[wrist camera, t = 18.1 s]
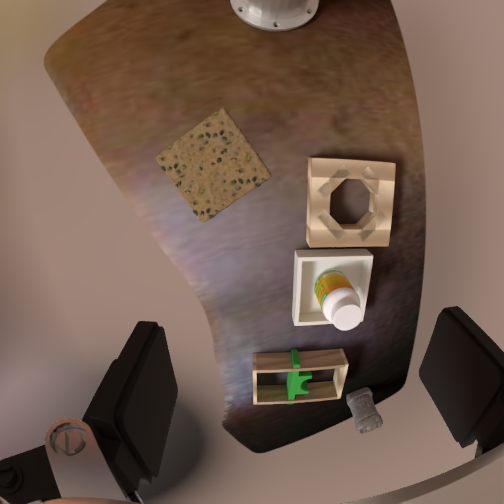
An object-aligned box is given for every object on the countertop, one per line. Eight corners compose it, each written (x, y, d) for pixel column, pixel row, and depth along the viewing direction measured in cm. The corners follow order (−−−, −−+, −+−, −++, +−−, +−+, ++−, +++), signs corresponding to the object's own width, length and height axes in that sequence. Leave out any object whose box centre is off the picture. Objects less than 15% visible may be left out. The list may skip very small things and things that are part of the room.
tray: (295, 249, 43) (298, 257, 40) (365, 248, 43) (373, 255, 40) (292, 315, 47) (294, 325, 44) (357, 311, 47) (362, 321, 44)
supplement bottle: (311, 271, 43) (327, 303, 34) (345, 265, 43) (368, 295, 34) (314, 302, 45) (328, 338, 36) (346, 296, 45) (366, 330, 36)
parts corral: (252, 353, 50) (252, 370, 45) (342, 348, 49) (348, 364, 45) (253, 387, 53) (253, 404, 48) (335, 382, 53) (340, 398, 48)
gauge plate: (307, 157, 38) (312, 158, 36) (386, 162, 38) (395, 163, 35) (306, 240, 42) (309, 247, 40) (380, 239, 42) (388, 246, 40)
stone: (344, 393, 54) (354, 429, 45) (369, 384, 53) (383, 419, 44) (346, 402, 55) (356, 437, 46) (371, 393, 54) (384, 427, 45)
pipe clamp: (303, 387, 53) (306, 403, 49) (285, 388, 53) (287, 404, 49) (310, 348, 49) (314, 364, 45) (291, 348, 49) (293, 365, 45)
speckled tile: (274, 176, 40) (274, 176, 39) (203, 223, 42) (202, 225, 41) (224, 106, 36) (224, 105, 35) (154, 157, 39) (152, 157, 38)
